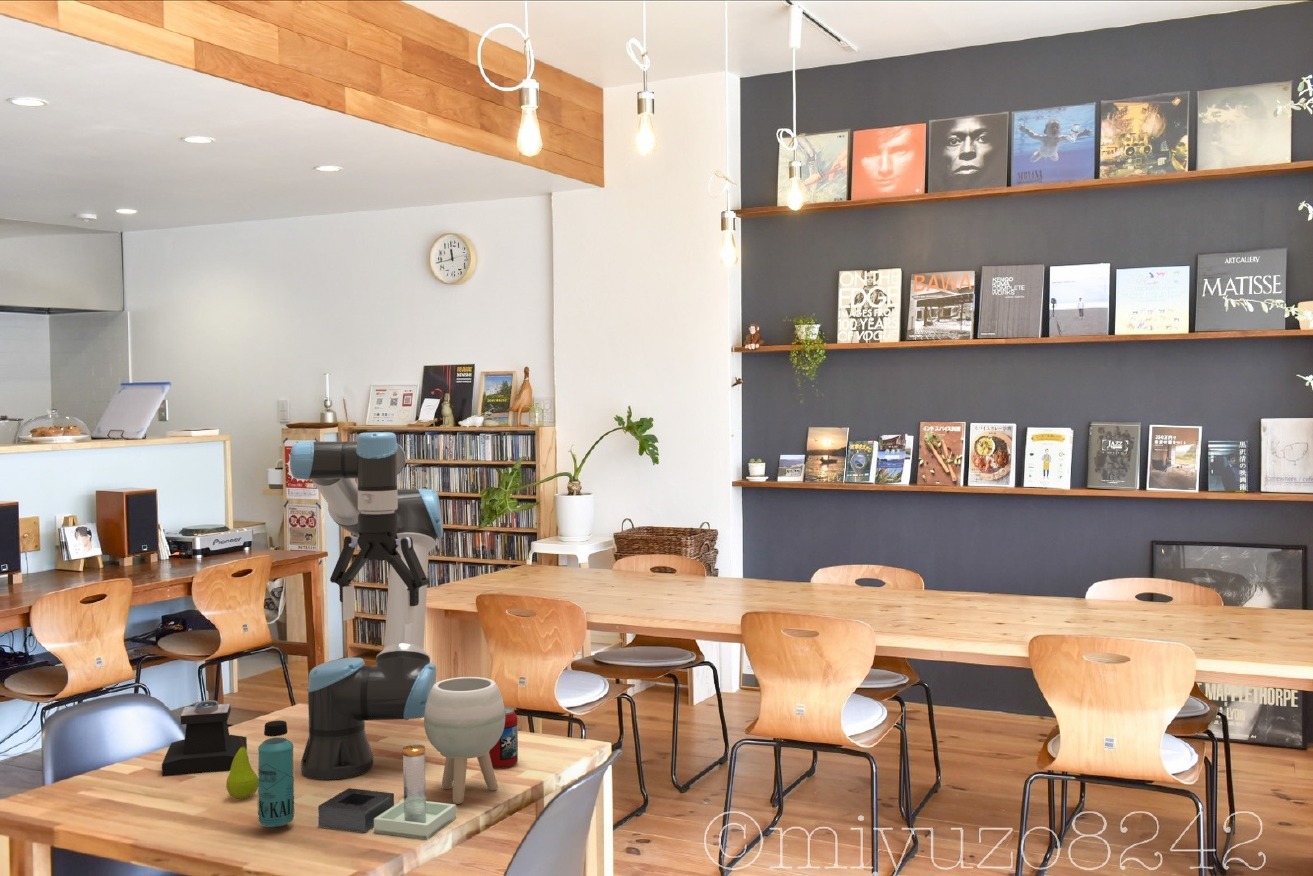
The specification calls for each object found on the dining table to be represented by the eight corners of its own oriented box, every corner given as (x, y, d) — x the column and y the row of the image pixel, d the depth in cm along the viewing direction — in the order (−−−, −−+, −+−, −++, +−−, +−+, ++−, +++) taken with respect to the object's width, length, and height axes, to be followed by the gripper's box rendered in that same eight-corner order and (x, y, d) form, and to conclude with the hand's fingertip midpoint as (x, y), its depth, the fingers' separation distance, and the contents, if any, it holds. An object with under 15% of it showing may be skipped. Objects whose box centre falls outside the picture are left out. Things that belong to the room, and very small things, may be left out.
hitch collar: (318, 827, 208) (318, 805, 208) (349, 808, 218) (348, 788, 217) (365, 833, 205) (365, 811, 205) (394, 814, 215) (393, 793, 214)
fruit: (245, 804, 220) (244, 744, 220) (219, 801, 222) (218, 742, 222) (265, 794, 226) (264, 735, 226) (239, 791, 228) (238, 733, 228)
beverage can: (512, 770, 240) (511, 715, 239) (482, 768, 241) (481, 713, 241) (522, 760, 246) (521, 706, 246) (493, 759, 248) (492, 705, 247)
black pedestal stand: (159, 716, 236) (171, 692, 250) (162, 781, 237) (174, 754, 252) (239, 710, 240) (246, 687, 254) (241, 775, 241) (248, 748, 256)
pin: (411, 816, 211) (409, 744, 210) (430, 819, 210) (428, 745, 209) (400, 825, 207) (398, 750, 207) (419, 827, 206) (418, 752, 205)
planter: (519, 785, 230) (518, 677, 230) (482, 812, 215) (481, 697, 215) (450, 777, 236) (449, 672, 235) (409, 803, 220) (408, 690, 220)
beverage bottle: (263, 822, 210) (261, 717, 210) (299, 821, 211) (297, 716, 210) (253, 836, 204) (251, 727, 203) (290, 834, 204) (289, 726, 204)
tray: (374, 832, 205) (373, 818, 205) (405, 812, 216) (404, 798, 215) (427, 839, 202) (426, 825, 202) (456, 818, 212) (456, 804, 212)
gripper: (310, 512, 216) (312, 621, 217) (425, 515, 209) (426, 628, 209) (333, 508, 223) (335, 614, 224) (444, 511, 216) (445, 620, 216)
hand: (379, 621), depth 217 cm, fingers open, 13 cm apart
